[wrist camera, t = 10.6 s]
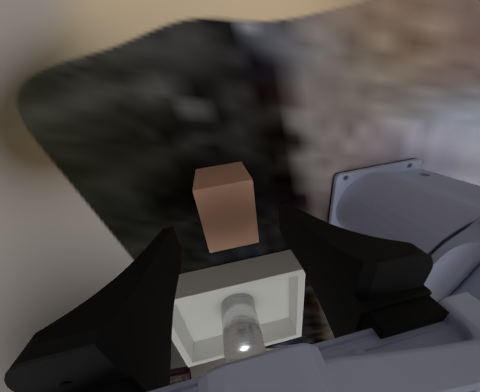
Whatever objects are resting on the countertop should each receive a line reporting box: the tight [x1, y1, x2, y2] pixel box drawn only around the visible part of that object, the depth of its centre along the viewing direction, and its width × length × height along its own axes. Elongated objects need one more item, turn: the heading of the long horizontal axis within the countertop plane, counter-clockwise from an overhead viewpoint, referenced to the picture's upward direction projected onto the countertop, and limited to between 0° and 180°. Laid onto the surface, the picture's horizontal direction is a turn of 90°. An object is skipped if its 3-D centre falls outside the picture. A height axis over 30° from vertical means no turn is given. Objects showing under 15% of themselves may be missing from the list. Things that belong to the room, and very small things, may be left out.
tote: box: [171, 249, 305, 367], centre depth 23 cm, size 16×14×3 cm
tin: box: [221, 293, 266, 363], centre depth 21 cm, size 4×4×6 cm
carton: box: [192, 162, 259, 253], centre depth 15 cm, size 4×6×4 cm
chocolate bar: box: [170, 366, 192, 385], centre depth 31 cm, size 9×1×18 cm
